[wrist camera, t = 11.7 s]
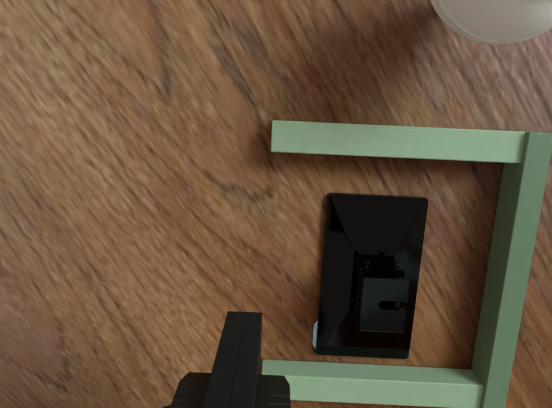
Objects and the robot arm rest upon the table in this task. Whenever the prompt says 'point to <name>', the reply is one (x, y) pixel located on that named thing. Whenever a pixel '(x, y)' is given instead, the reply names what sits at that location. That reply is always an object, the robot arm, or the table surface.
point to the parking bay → (499, 278)
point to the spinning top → (496, 19)
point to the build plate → (369, 274)
